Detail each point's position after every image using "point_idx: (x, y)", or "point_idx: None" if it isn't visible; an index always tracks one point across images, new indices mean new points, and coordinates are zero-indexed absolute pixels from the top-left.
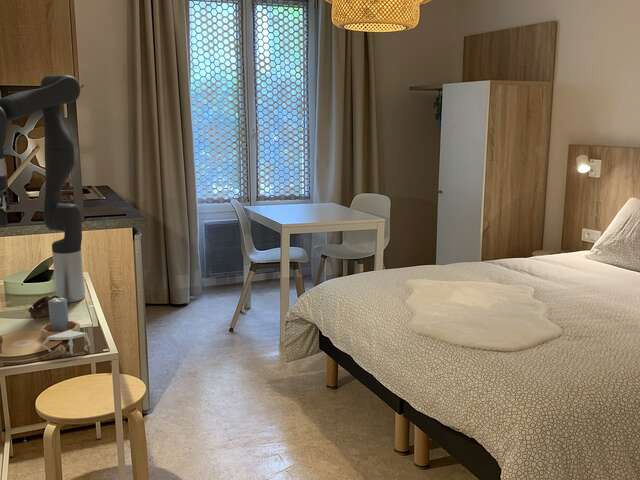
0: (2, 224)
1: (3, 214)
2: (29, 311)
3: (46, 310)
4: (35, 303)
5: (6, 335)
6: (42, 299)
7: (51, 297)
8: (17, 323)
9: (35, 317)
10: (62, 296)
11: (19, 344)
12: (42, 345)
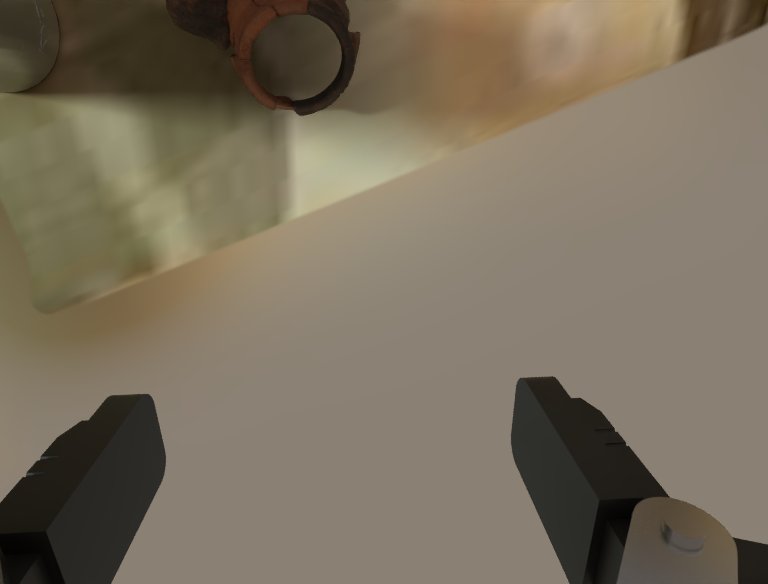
0: (155, 445)
1: (66, 553)
2: (336, 99)
3: (346, 6)
4: (267, 93)
5: (472, 142)
6: (250, 58)
7: (200, 25)
8: (344, 151)
9: (285, 97)
10: (41, 35)
11: (572, 53)
12: None
